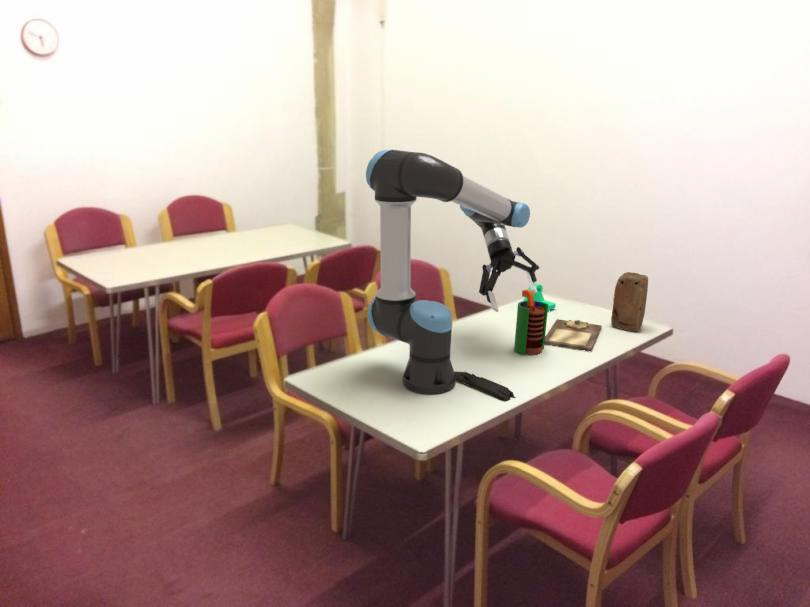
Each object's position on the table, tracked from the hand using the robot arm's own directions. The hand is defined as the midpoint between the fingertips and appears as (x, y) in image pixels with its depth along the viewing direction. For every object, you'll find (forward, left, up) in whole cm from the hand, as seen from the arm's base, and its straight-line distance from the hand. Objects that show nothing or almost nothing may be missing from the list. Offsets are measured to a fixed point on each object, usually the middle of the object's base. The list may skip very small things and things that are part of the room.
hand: (514, 301), depth 206 cm
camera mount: (-3, +55, -20) cm, 59 cm away
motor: (+3, +11, -20) cm, 23 cm away
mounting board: (+14, +31, -20) cm, 39 cm away
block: (+30, +48, -20) cm, 60 cm away
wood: (-2, -22, -20) cm, 30 cm away
